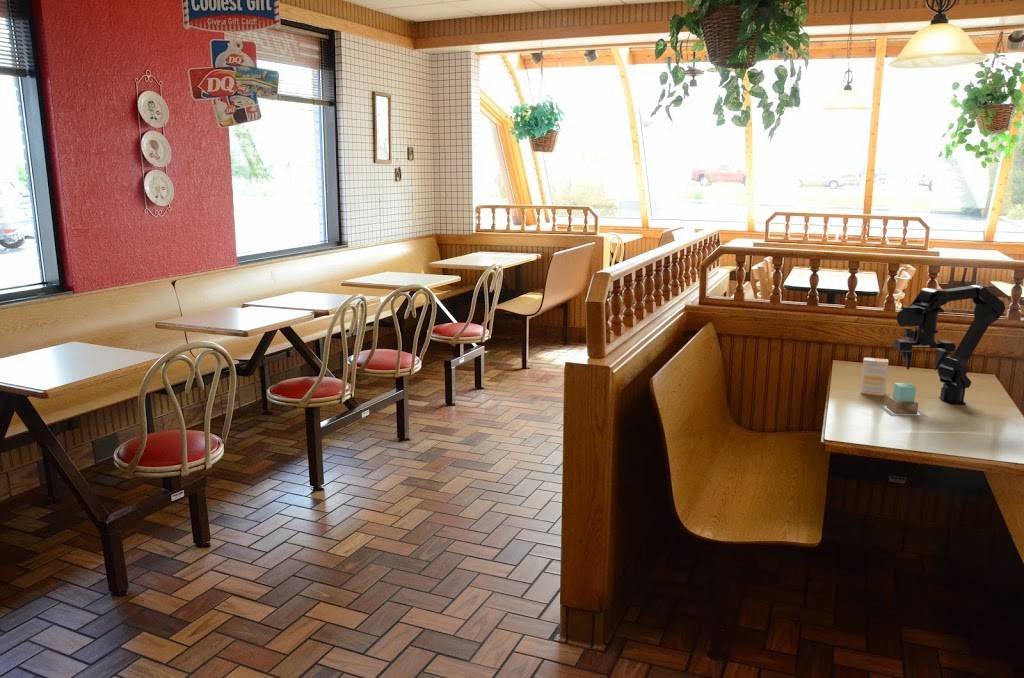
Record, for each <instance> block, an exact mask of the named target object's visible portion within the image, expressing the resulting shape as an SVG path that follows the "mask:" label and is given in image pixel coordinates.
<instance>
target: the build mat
mask: <svg viewBox="0 0 1024 678" xmlns="http://www.w3.org/2000/svg"><path fill="white" fill-rule="evenodd" d="M876 406H877V407H879V408H880V409H881V410H882V411H884V412H885V413H886V414H888V415H889V416H890V417H911V418H912V417H913V418H914V417H916V418H918V417H921V418H922V417H923V418H928V415H926V414H925V413H923V412H922V411H920V410H919V409H918V410H917V414H895V413H894V412H893V411H891V410H890V409H889V408H887V404H876Z"/></svg>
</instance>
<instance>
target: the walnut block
mask: <svg viewBox="0 0 1024 678" xmlns="http://www.w3.org/2000/svg"><path fill="white" fill-rule="evenodd" d="M886 402H887V404H886V405H887V408H889V409H890V410H891V411H893V412H894V413H895V414H917V410H919V402H918V401H917V400H915V399H914V402H899V401H897V400H896V399H895V398H893V395H888V397H887V401H886Z"/></svg>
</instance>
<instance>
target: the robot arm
mask: <svg viewBox="0 0 1024 678" xmlns="http://www.w3.org/2000/svg"><path fill="white" fill-rule="evenodd" d="M970 299H971V302H972V303H973V304H974V305H975V307H974V309H973V315H974V316H973V317H974V318H973V321H972V322H971V324H970V326H969V327H968V329H967V331H966V333H965V334H964V336H963V338H962V339H961V341H960V342H959V344H958V346H957V345H956V343H955V342H952V341H950V340H948V339H938V340H937V341H936V334H938V331H939V330H938V329H937V327H938V326H937V325H938V320H939V314H940V313H941V314H942V313H945V310H944V309H943V308H942V307H941V306H945V305H946V304H947V303H950V302H956V301H963V300H970ZM901 307H902V309H900V310H899V311H898V313H897V315H896V321H897V322H896V323H897V324H898V325H899V327H903V328H904V327H915V328H914V330H912V328H904V329H903V339H902V338H901V339H899V338H897V339H895V340H894V341H893V344H892V345H893V348H895V349H896V350H897V351H899V352H900V353H901V355H902V357H903V359H904V360H903V361H904V365H905V368H906V370H910V368H911V364H912V363H911V362H912V358H913V351H912V349H934V350H935V357H934V361H933V363H934V364H933V370H934V371H937V374H938V376H939V381H940V383H943V385H942V387H941V388H940V396H939V397H938V399H940V400H942V401H943V403H944V402H945V403H946V404H949V405H966V404H967V402H966V401H965V394H966V389H967V388H968V389H969V388H970V387H971V384H972V381H971V379H970V378H969V377H968V376H967V374H968V372H969V360H970V358H971V357H972V355H973V353H974V351H975V349H976V348H977V346H978V344H979V343H980V341H981V339H982V338H983V336H984V335H985V332H986V331H987V329H988V328H989V327H990V325H991V324H993V323H994V322H996V321H998V320H999V319H1000V317H1001V316H1002V315H1003V314H1004V313H1005V310H1006V306H1005V302H1004V301H1003V300H1002V299H1000V298H999V297H998V296H996V295H995V294H993V293H992V292H991V291H989V290H988V288H986V287H985V286H983V285H977V284H972V285H968V286H960V287H952V288H943V289H942V288H933V287H923V288H921V289H920V291H919V293H918V294H917V296H916V297H915V298H914V300H912V301H911V304H910V305H909V306H908V305H907V306H906V305H904V306H901ZM952 352H953V353H952ZM951 354H952V355H951ZM949 355H950V356H949ZM948 356H949V357H948Z"/></svg>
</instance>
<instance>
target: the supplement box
mask: <svg viewBox="0 0 1024 678" xmlns="http://www.w3.org/2000/svg"><path fill="white" fill-rule="evenodd" d="M862 361H863V362H862V371H861V373H862V374H861V383H860V394H861V395H868V396H869V395H870V396H879V397H885V396H886V390H887V389H886V387H887V378H888V372H889V359H888V358H878V357H877V358H876V357H875V358H874V357H868V356H867V357H863V360H862Z"/></svg>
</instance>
